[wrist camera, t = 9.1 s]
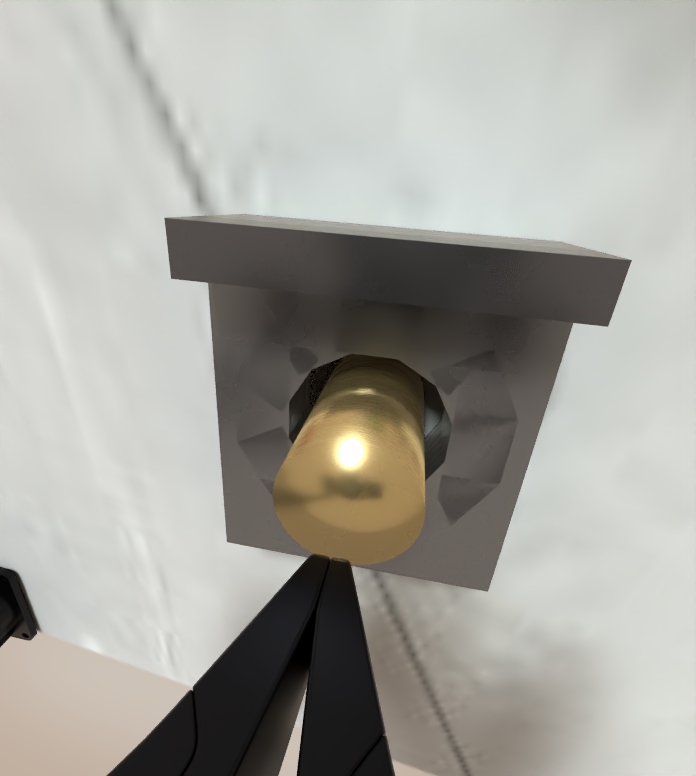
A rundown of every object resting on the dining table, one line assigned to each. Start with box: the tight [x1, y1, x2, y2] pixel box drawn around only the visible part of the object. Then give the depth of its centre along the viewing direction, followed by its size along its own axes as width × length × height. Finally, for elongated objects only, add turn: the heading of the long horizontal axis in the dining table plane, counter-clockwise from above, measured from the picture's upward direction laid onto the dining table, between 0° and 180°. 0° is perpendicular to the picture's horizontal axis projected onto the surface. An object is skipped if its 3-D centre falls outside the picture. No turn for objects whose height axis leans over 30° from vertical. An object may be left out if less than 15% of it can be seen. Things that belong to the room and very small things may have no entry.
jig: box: [165, 214, 632, 591], centre depth 14 cm, size 13×11×5 cm
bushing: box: [273, 354, 425, 565], centre depth 14 cm, size 4×4×7 cm
